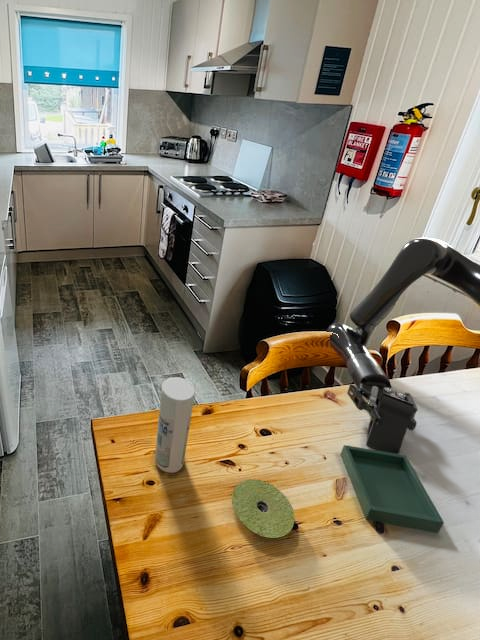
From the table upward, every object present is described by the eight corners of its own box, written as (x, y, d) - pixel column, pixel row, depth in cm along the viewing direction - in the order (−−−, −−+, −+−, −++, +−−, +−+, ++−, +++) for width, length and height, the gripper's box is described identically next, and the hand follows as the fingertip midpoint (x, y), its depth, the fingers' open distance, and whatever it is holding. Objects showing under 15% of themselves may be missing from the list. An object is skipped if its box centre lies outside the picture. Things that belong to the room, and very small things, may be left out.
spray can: (149, 450, 87) (157, 379, 79) (177, 444, 89) (186, 374, 81) (160, 476, 81) (169, 403, 73) (189, 469, 83) (200, 397, 75)
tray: (401, 464, 86) (405, 455, 85) (438, 533, 73) (444, 522, 72) (340, 454, 88) (343, 444, 87) (365, 519, 75) (370, 509, 74)
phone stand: (369, 420, 97) (384, 382, 93) (398, 432, 94) (415, 394, 89) (365, 445, 91) (381, 405, 86) (396, 459, 88) (414, 419, 83)
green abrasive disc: (281, 558, 68) (284, 551, 67) (221, 517, 74) (222, 510, 73) (299, 508, 76) (301, 501, 76) (243, 475, 83) (244, 468, 82)
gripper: (341, 359, 102) (366, 407, 87) (401, 367, 100) (438, 417, 85) (334, 381, 105) (357, 432, 90) (392, 390, 103) (426, 442, 88)
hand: (396, 424), depth 88 cm, fingers closed on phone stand, 6 cm apart
